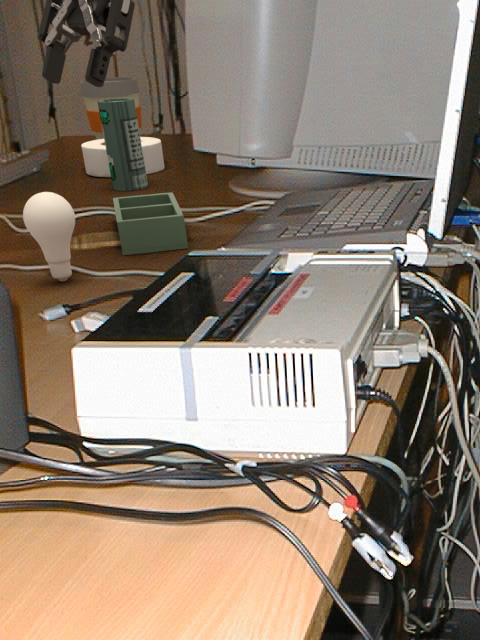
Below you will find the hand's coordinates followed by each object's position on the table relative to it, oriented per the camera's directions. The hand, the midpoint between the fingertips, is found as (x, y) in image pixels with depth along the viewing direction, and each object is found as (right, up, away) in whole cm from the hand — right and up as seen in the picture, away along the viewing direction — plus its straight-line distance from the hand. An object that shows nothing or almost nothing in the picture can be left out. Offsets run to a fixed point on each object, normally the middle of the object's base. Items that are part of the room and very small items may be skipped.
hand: (71, 82), depth 111 cm
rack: (+4, -12, +24) cm, 27 cm away
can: (-9, +8, +59) cm, 60 cm away
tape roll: (-15, +17, +75) cm, 78 cm away
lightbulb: (-3, -23, +6) cm, 24 cm away
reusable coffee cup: (-22, +29, +95) cm, 102 cm away
